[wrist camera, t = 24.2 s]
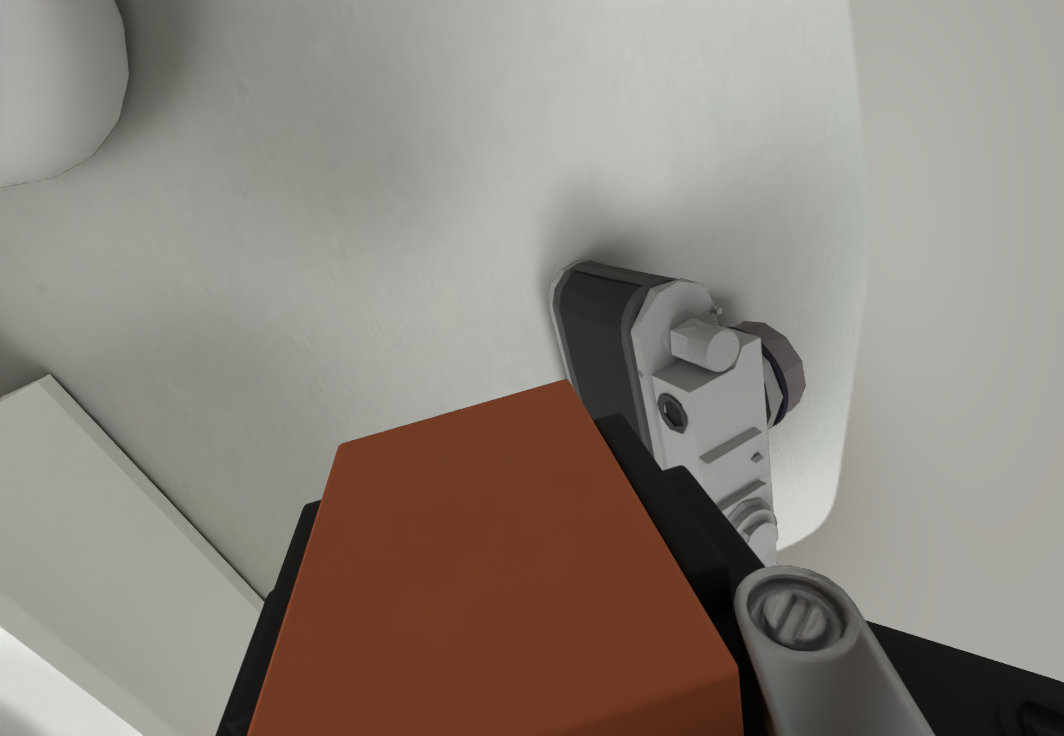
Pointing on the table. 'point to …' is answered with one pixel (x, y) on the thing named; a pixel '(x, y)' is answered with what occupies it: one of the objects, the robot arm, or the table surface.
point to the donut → (57, 84)
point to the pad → (493, 592)
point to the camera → (681, 381)
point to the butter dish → (105, 588)
